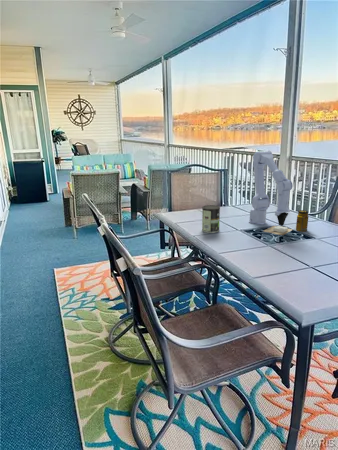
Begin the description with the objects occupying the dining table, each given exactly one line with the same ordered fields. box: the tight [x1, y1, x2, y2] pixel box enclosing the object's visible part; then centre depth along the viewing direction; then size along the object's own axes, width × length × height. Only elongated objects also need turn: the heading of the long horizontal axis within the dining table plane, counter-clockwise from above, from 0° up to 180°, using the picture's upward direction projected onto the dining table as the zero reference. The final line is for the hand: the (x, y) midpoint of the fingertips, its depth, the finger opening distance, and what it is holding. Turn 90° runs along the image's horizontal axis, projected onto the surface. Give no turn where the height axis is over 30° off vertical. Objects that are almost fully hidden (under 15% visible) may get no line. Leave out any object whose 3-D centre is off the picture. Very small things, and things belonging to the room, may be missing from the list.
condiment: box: [295, 209, 309, 233], centre depth 183 cm, size 7×8×12 cm
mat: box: [263, 225, 293, 236], centre depth 185 cm, size 12×14×1 cm
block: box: [273, 225, 289, 233], centre depth 184 cm, size 6×2×6 cm
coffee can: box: [201, 204, 221, 234], centre depth 187 cm, size 10×10×14 cm
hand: (281, 225), depth 183 cm, fingers closed
